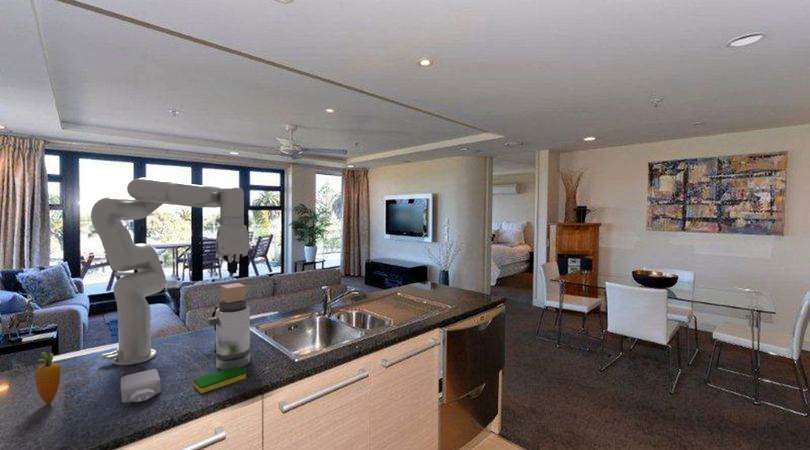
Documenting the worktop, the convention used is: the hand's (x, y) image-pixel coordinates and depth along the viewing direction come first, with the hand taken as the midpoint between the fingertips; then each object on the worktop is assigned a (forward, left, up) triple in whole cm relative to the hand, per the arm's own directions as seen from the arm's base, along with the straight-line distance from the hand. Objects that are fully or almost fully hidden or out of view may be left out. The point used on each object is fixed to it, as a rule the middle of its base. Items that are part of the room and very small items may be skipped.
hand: (232, 272), depth 126 cm
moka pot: (+3, +15, -33) cm, 37 cm away
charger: (-28, -4, -34) cm, 44 cm away
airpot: (-1, 0, -33) cm, 33 cm away
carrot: (-47, +9, -33) cm, 58 cm away
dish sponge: (-8, -11, -34) cm, 36 cm away
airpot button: (0, 0, -10) cm, 10 cm away
